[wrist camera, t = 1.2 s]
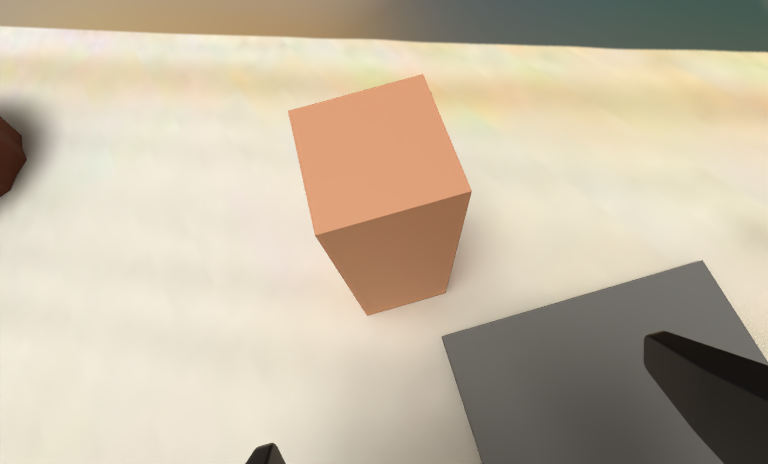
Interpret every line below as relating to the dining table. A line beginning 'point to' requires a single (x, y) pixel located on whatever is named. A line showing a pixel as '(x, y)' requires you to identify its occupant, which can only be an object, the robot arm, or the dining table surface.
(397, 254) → the terracotta block
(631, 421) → the charcoal mat
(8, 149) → the muffin
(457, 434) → the dining table surface
